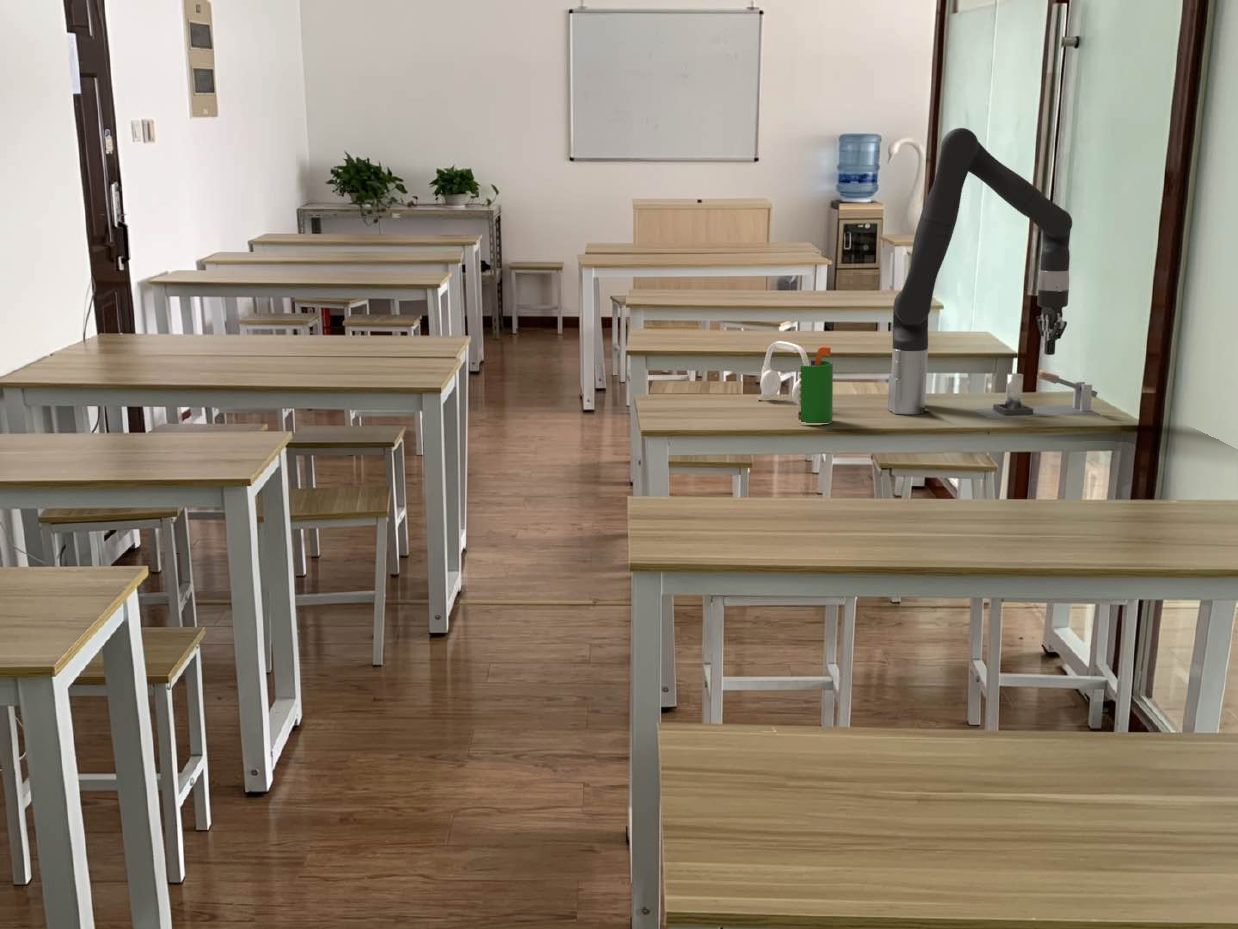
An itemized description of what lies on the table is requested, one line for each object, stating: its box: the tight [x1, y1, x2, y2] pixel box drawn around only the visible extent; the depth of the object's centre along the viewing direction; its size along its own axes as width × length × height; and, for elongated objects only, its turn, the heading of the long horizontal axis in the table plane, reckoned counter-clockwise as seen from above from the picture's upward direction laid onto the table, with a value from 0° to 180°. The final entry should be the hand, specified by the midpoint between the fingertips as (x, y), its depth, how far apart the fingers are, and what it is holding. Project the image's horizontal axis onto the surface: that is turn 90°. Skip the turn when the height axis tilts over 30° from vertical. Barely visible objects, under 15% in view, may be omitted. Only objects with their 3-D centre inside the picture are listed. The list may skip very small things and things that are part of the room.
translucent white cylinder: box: [1004, 372, 1024, 409], centre depth 325 cm, size 4×4×10 cm
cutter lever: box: [1036, 369, 1099, 398], centre depth 327 cm, size 17×2×2 cm, turn 97°
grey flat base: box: [971, 381, 1101, 419], centre depth 327 cm, size 30×12×8 cm, turn 97°
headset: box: [757, 340, 811, 406], centre depth 346 cm, size 20×7×18 cm, turn 29°
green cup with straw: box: [797, 345, 834, 423], centre depth 324 cm, size 10×9×20 cm
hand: (1049, 354), depth 324 cm, fingers closed
